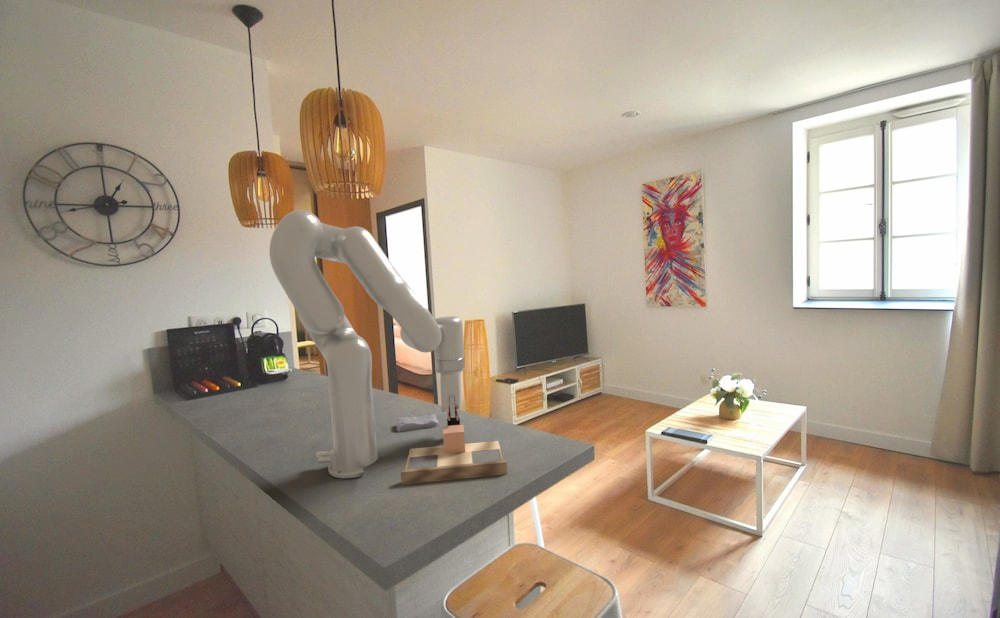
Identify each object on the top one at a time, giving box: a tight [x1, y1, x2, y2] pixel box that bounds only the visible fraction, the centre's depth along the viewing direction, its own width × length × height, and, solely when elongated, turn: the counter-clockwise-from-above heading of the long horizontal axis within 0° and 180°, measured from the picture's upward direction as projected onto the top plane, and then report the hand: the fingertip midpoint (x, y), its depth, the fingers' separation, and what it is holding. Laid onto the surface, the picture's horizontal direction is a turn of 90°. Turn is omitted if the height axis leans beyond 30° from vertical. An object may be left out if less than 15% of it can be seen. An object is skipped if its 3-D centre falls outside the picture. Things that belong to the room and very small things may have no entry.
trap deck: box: [400, 440, 508, 485], centre depth 99 cm, size 22×18×4 cm
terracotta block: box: [442, 424, 466, 454], centre depth 105 cm, size 5×5×5 cm
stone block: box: [396, 413, 440, 433], centre depth 125 cm, size 12×5×10 cm
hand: (454, 433), depth 113 cm, fingers closed
